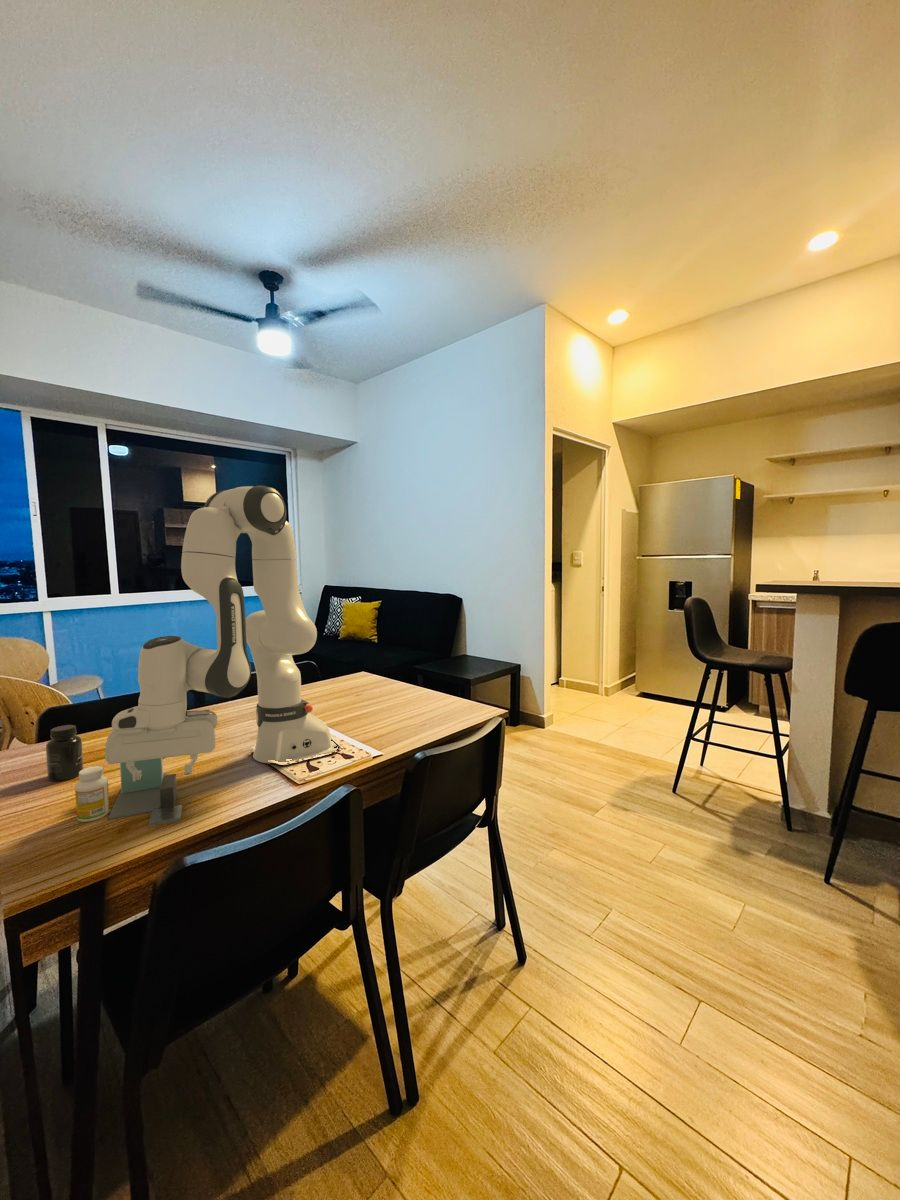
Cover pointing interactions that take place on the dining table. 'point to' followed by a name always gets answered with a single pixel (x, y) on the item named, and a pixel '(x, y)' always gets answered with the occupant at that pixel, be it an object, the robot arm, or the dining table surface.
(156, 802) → the mat
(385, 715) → the dining table surface
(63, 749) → the supplement bottle
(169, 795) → the grey post on base
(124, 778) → the tile
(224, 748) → the dining table surface
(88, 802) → the supplement bottle
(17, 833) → the dining table surface
